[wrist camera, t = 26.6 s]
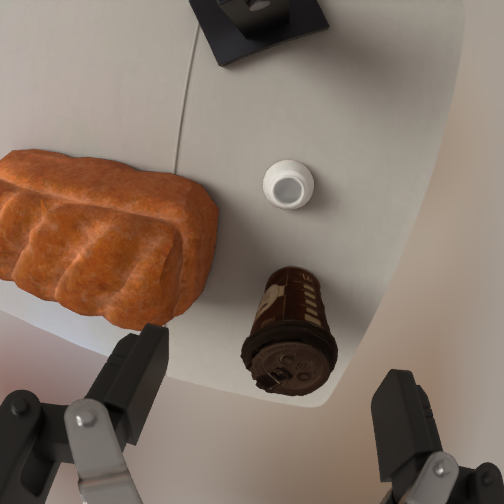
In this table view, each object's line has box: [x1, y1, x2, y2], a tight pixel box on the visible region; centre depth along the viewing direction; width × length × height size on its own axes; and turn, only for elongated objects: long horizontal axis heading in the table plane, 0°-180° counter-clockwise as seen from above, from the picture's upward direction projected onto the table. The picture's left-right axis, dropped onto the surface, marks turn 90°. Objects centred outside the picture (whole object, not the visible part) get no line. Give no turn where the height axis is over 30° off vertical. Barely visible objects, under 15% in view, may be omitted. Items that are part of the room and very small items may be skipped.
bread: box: [0, 149, 219, 331], centre depth 30 cm, size 16×31×13 cm, turn 77°
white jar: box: [263, 160, 314, 210], centre depth 31 cm, size 5×3×5 cm
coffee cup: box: [240, 266, 338, 396], centre depth 32 cm, size 9×8×13 cm
